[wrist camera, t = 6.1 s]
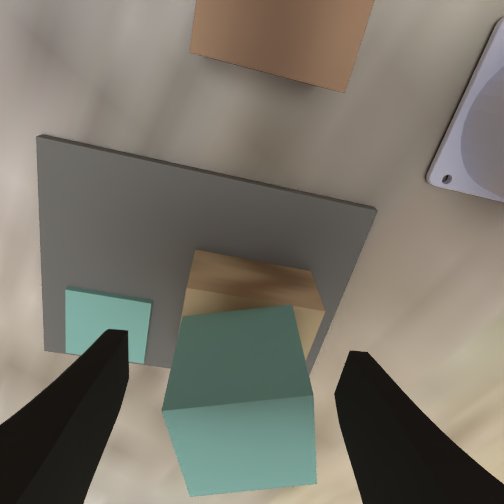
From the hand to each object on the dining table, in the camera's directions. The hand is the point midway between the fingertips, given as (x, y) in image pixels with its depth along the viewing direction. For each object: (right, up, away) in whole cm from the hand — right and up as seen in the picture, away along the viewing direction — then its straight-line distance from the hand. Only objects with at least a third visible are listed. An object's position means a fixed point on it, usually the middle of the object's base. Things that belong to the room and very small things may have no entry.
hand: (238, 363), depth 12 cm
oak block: (0, 0, +11) cm, 11 cm away
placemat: (-3, +2, +11) cm, 11 cm away
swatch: (-9, -1, +11) cm, 14 cm away
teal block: (0, -2, +7) cm, 8 cm away
